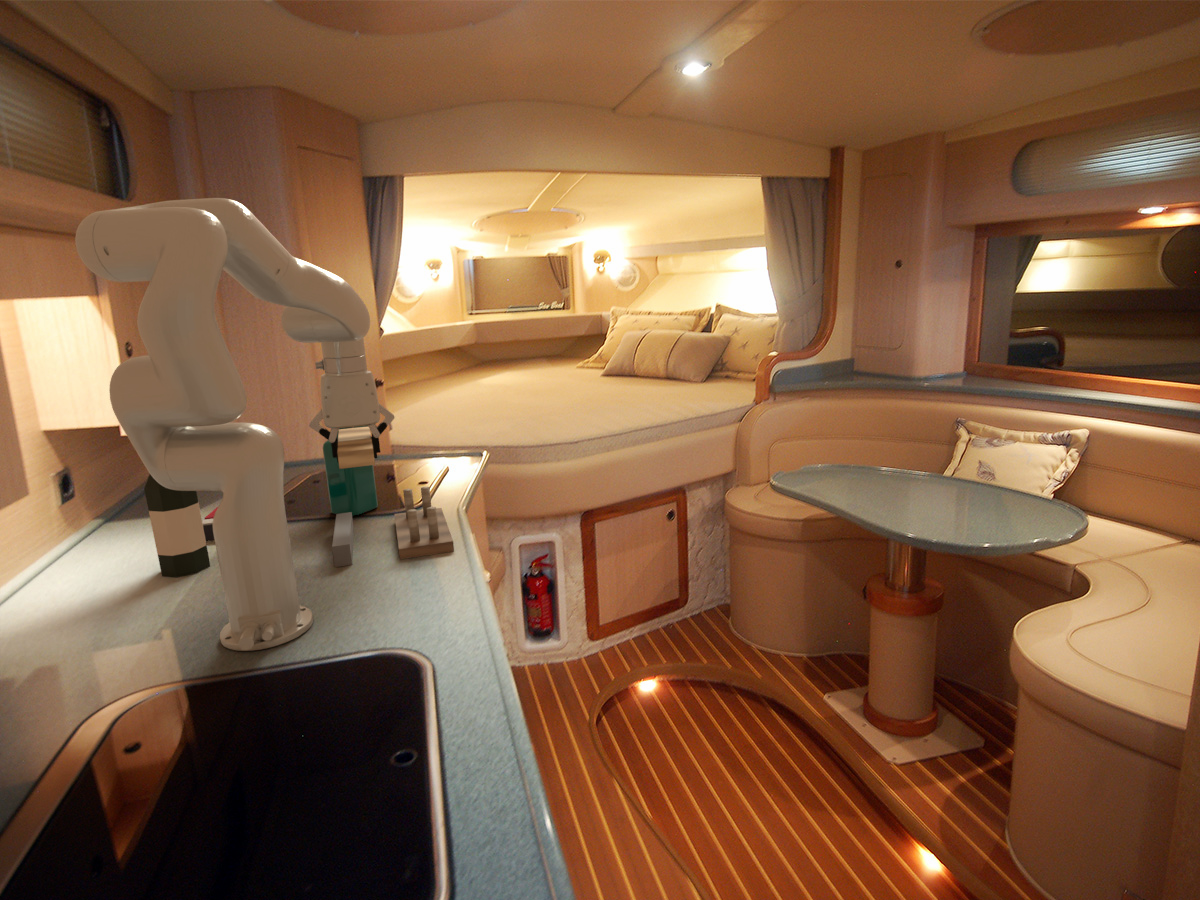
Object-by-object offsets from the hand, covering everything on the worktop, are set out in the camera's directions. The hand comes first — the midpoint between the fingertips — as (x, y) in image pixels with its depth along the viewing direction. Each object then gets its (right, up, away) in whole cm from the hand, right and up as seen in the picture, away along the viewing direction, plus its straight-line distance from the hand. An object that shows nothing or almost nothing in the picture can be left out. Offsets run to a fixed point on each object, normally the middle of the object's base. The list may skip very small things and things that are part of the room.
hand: (357, 458), depth 132 cm
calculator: (-33, -16, +17) cm, 40 cm away
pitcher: (-9, -13, +26) cm, 30 cm away
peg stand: (+11, -16, +7) cm, 21 cm away
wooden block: (0, +1, 0) cm, 1 cm away
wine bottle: (-30, -21, -5) cm, 37 cm away
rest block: (-3, -18, +3) cm, 18 cm away
